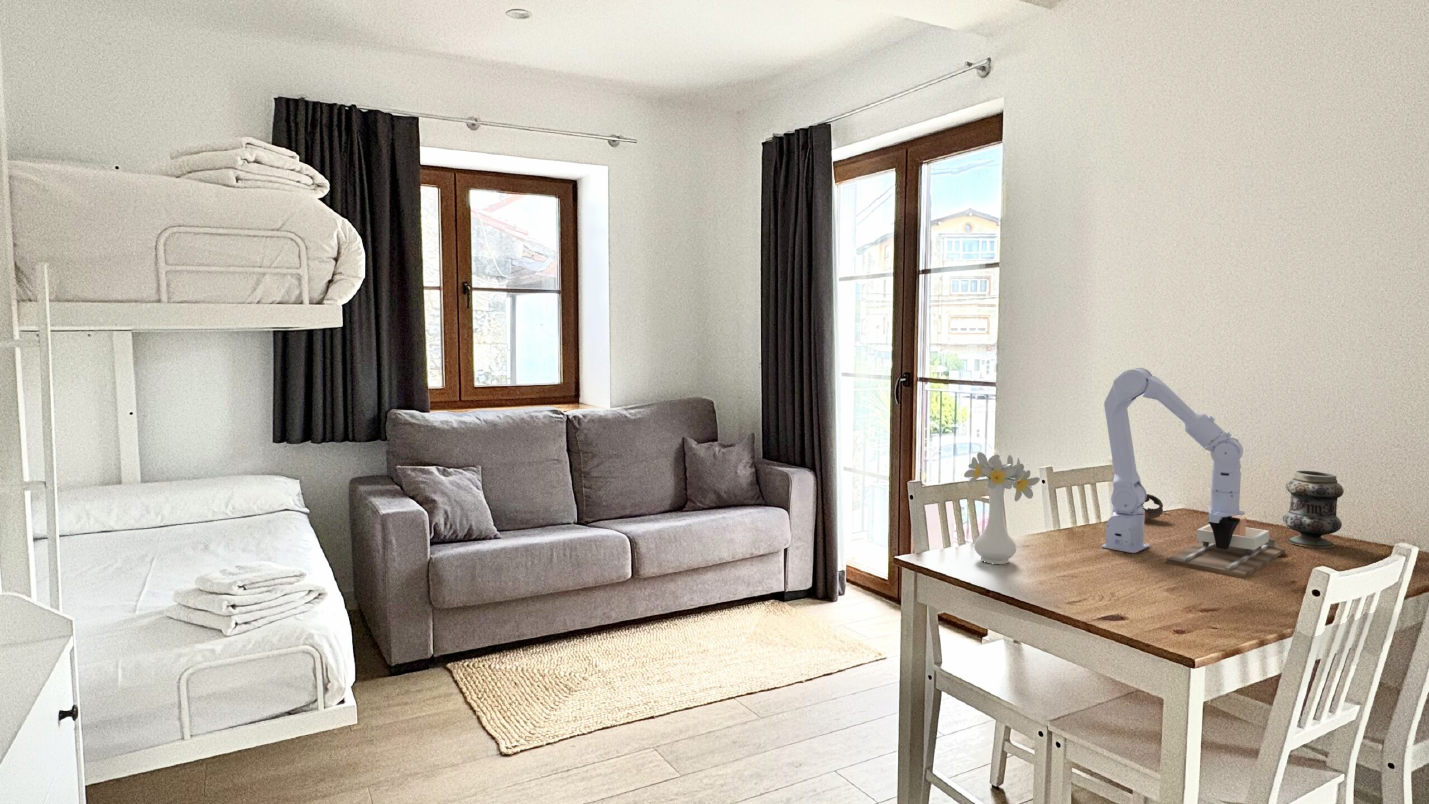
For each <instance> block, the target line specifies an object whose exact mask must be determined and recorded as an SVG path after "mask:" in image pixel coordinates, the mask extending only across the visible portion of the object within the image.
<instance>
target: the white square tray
mask: <svg viewBox="0 0 1429 804" xmlns="http://www.w3.org/2000/svg"><path fill="white" fill-rule="evenodd" d="M1196 530H1197V531H1196V541H1199V542H1201V541H1203V546H1204V547H1208V546H1209V542H1210V543H1215V538H1214V533H1213V530H1212V528H1211V526H1210V524H1209V523H1208V524H1206V525H1204V526H1202V527H1199V528H1198V529H1196ZM1269 538H1270V530H1266V529H1260V528H1253V527H1247V526H1246V534H1245V536H1239V535H1232V538H1231V542H1230V545H1229V546H1233V547H1239V548H1245V549H1246V554H1250V555H1251V553H1252V550H1255V549H1257V548H1260V549H1261V547H1262V545H1263V544H1265V543H1267V542H1269Z"/></svg>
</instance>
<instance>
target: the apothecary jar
mask: <svg viewBox="0 0 1429 804" xmlns="http://www.w3.org/2000/svg"><path fill="white" fill-rule="evenodd" d="M1285 489H1286V491H1287V492H1288V493H1290V501H1289V510H1288V511H1286V512H1285V513H1284V514H1283V515H1282V521H1283V523H1284V524H1285V526H1287V527H1288V528H1289V529H1291V530H1293V531H1295V532H1298V533H1299V534H1300V535H1295V536H1292V537H1289V538H1287V539H1286V542H1287V541H1288V543H1289V544H1291V545H1294V544H1295V545H1294V546H1297V545H1299V547H1302V546H1306V547H1305V548H1309V547H1311V548H1310V549H1321V548H1326V549H1332V548H1331V547H1333V546H1335V547H1336V545H1335V543H1334V542H1332V541H1331V540H1328V539H1326V538H1323V537H1322V536H1324V535H1326V536H1327V535H1331V534H1334V533H1337V532H1338V531H1340V529H1341V528H1342V526H1343V524H1342V520H1341V519H1340V518H1339V517H1338V516H1337V507H1338V499H1339V498H1340V497H1342V496H1343V495H1344V493H1345V490H1344V487H1343V486H1342V485H1341V484H1340V483H1338V480H1337V475H1336V474H1335V473H1331V472H1327V471H1326V472H1325V471H1320V470H1319V471H1318V470H1309V469H1307V470H1306V469H1304V470H1303V469H1302V470H1301V469H1299V470H1294V476H1293V478H1291V479H1290V480H1288V481H1287V482H1286V484H1285Z"/></svg>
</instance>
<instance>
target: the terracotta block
mask: <svg viewBox="0 0 1429 804" xmlns="http://www.w3.org/2000/svg"><path fill="white" fill-rule="evenodd" d="M1232 517H1234V518H1239V519H1240V522H1239V523H1238V525H1237V526H1236V528H1235V530H1234V533H1233V535H1239V536H1245V534H1246V527H1247V517H1244V516H1239V515H1236V516H1232Z"/></svg>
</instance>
